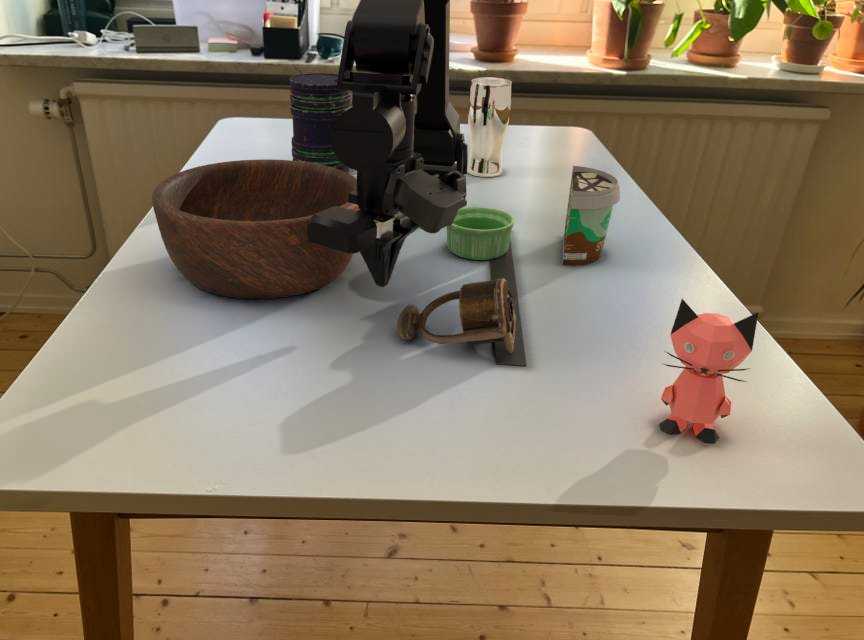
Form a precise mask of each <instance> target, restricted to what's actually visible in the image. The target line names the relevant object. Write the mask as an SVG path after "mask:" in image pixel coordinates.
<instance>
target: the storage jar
mask: <svg viewBox="0 0 864 640" xmlns="http://www.w3.org/2000/svg"><path fill="white" fill-rule="evenodd" d="M337 79H338V73H337V74H336V73H325V72H324V73H323V72H321V73H320V72H319V73H318V72H315V73H301V74H295V75H293V76H291V77H290V78H289V84H290V89H289V91H290V92H289V93H290V94H289V103H290V109H289V110H290V114H291V116H292V137H291V142H290V143H291V157H292V161H301V162H309V163H315V164H320V165H325V166H329V167H332V168H336V169H339V170H341V171H344V172H346V173H348V174H350V171H351V168H349V167H347V166H345V165H344V164H343V163H342V162H341V161H340V160H339V159H338V157H337V156H336V154H335V153H334V150H333V148H332V143H331V131H332V129H333V126H334V123H335V121H336V120H337V118H338V117H339V116H340V115H341V114H342V113H343V112H344V111H345V110H346V109H348V108H349V107H350V106H351V103H352V95H351V90H337Z"/></svg>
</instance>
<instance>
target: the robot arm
mask: <svg viewBox="0 0 864 640" xmlns="http://www.w3.org/2000/svg"><path fill="white" fill-rule="evenodd" d="M450 26H451V0H359V2H358V4H357V7H356V9H355V10H354V12H353V15H352V18H351V20H348V21H347V23H346V26H345V30H344V35H343V42H342V48H341V54H340V60H339V67H338V73H337V75H338V79H337V90H350V92H352V93H351V94H352V95H351V103H350V107H349V108H348V109H346V110H345V111H344V112H343V113H342V114H341V115H340V116H339V117H338V118H337V120H336V121H335V123H334V126H333V129H332V131H331V143H332V148H333V150H334V153H335V154H336V156H337V157H338V159H339V160H340V161H341V162H342V163H343V164H344V165H345V166H347V167H349V168H350V170H353V171H356V179H357V190H355V191H352V192H350V193H348V203H352V204H356V205H359V209H360V210H358V211H353V210H349V209H345V208H341V207H337V206H334V207H331V208H329V209H326V210H324V211H321V212H319V213H316V214H314V215H313V216H312V217H311V218H310V219H309V220H308V221H307V239H308V242H311V243H315V244H318V245H321V246H325V247H328V248H331V249H335V250H338V251H342V252H345V253H348V254H350V253H354V254H358V253H360V255H361V257H362V259H363V261H364V263H365V265H366V267H367V269H368V272H369V274H370V275H371V277H372V279H373V281H374V284H375V285H376V286H378V287H381V288H384V287H386V286H388V285H389V283H390V280H391V278H392V275H393V272H394V269H395V266H396V263H397V261H398V258H399V255H400V253H401V250H402V247H403V245H404V243H405V240H406V239H407V237H409V236H410V235H411V234H412V233H414V232H415V231H416V230H418V229H421V230H422V231H424V232H425V233H427V234H437V233H439V232H440V231H441V230H442V229H444V228H447V226H450V225H452V224H453V222H454V219H455V217H456V215H457V212H458V210H459V209H460V208H465V207H466V206H467V204H468V200H467V195H468V193H467V192H468V191H467V190H468V189H467V176H466V175H467V174H468V172H467V168H468V162H469V147H468V143H467V142H466V139H465V134H464V133H461V117H460V115H459V113H458V112H457V110H456V109H455V108H454V106H453V104H452V103H451V101H450V40H451V39H450V37H451V36H450V35H451V34H450V33H451V32H450V31H451V27H450ZM354 65H355V70H356V71H353V68H354ZM411 76H412V79H411Z"/></svg>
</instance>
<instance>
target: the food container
mask: <svg viewBox="0 0 864 640" xmlns="http://www.w3.org/2000/svg"><path fill="white" fill-rule="evenodd" d="M570 178H571V179H570V187H569V195H568V203H567V209H566V216H565V224H564V233H563V239H562V263H561V264H562V265H563V266H566V265H567V266H583V265H587V264H589V265H590V264H593V263H595V262H597V261H599V260H600V259H601V257H602V253H603V249H604V246H605V241H606V236H607V233H608V228H609V224H610V220H611V216H612V212H613V208H614V205H616V204H618V203H619V202H620V201H621V188H620V183H619V180H618V179H617V177H615V176H614V175H613V174H611V173H609V172H607V171H604V170H600V169H596V168H592V167H588V166H581V165H572V172H571V177H570Z"/></svg>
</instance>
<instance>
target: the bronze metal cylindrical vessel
mask: <svg viewBox="0 0 864 640" xmlns="http://www.w3.org/2000/svg"><path fill="white" fill-rule="evenodd" d="M512 298H513V292H512V289H511V286H510V284H509V282H507V281H506V280H505V279H504V278H502V279H497V280H491V279H490V280H484V281H476V282H470V283H464V284H462V285H461V286H460V289H459V290H454V291H450V292H448V293H445V294H443V295H441V296H439V297H437V298H435V299H434V300H432V301H431V302H429V303H428V304H427V305H426V306H425V307H424V308H423V310H422V311H421V312H419V311H420V309H419V307H418V306H416V305H415V304H409V305H406V307H404V308H403V309H402V311H400V313H399V314H398V317H397V322H396V331H397V332H398V335H399V337H400V338H401V339H403V340H404V341H411V340H413V339H414V338H415V336H416V334H417V330H420V332H421V334H422V335H423V337H424V338H426V339H427V340H428V341H429V342H433V343H436V344H439V345H454V344H463V343H467V344H469V345H471V346H473V345H483V344H491V343H492V344H493V343H495V342H501V341H504V342H505V346H506V350H507V352H508V353H509V354H512V353H513V349H514V339H515V321H516V316H515V312H514V308H513V302H512ZM454 300H455V301H456V300H458V307H459V308H458V309H459V318H460V323H461V328H462V333H453V334H446V335H445V334H441V335H440V334H435V333H432V332H430V331H429V330H428V329H427V328H426V325H427V321H428V318H429V316H430V315H431V313H433V312H434V311H435V310H436V309H437V308H438V307H440V306H442V305H445V304H447V303H449V302H451V301H454Z"/></svg>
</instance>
